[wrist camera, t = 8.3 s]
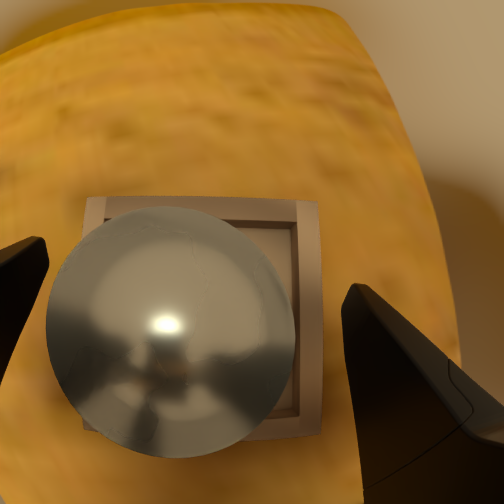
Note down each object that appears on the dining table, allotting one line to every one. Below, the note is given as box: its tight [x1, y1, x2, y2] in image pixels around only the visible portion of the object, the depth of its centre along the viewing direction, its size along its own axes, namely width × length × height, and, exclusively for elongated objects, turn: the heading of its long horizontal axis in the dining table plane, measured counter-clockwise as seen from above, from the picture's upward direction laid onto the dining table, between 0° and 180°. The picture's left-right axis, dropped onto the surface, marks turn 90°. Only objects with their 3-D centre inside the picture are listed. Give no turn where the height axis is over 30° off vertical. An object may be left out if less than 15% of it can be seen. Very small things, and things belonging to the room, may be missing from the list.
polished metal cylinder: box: [46, 206, 295, 458], centre depth 10 cm, size 5×5×11 cm
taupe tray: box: [82, 196, 323, 441], centre depth 15 cm, size 12×12×2 cm
